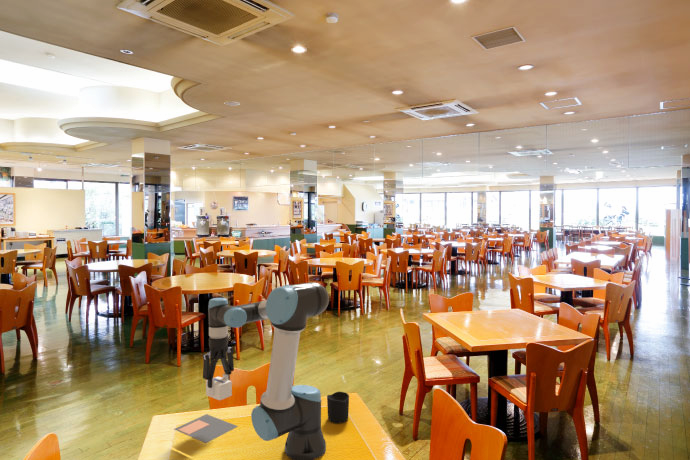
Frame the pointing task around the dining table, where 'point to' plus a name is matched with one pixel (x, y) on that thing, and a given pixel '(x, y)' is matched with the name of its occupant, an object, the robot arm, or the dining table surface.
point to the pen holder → (338, 407)
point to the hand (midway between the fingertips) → (218, 392)
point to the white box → (221, 388)
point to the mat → (206, 428)
